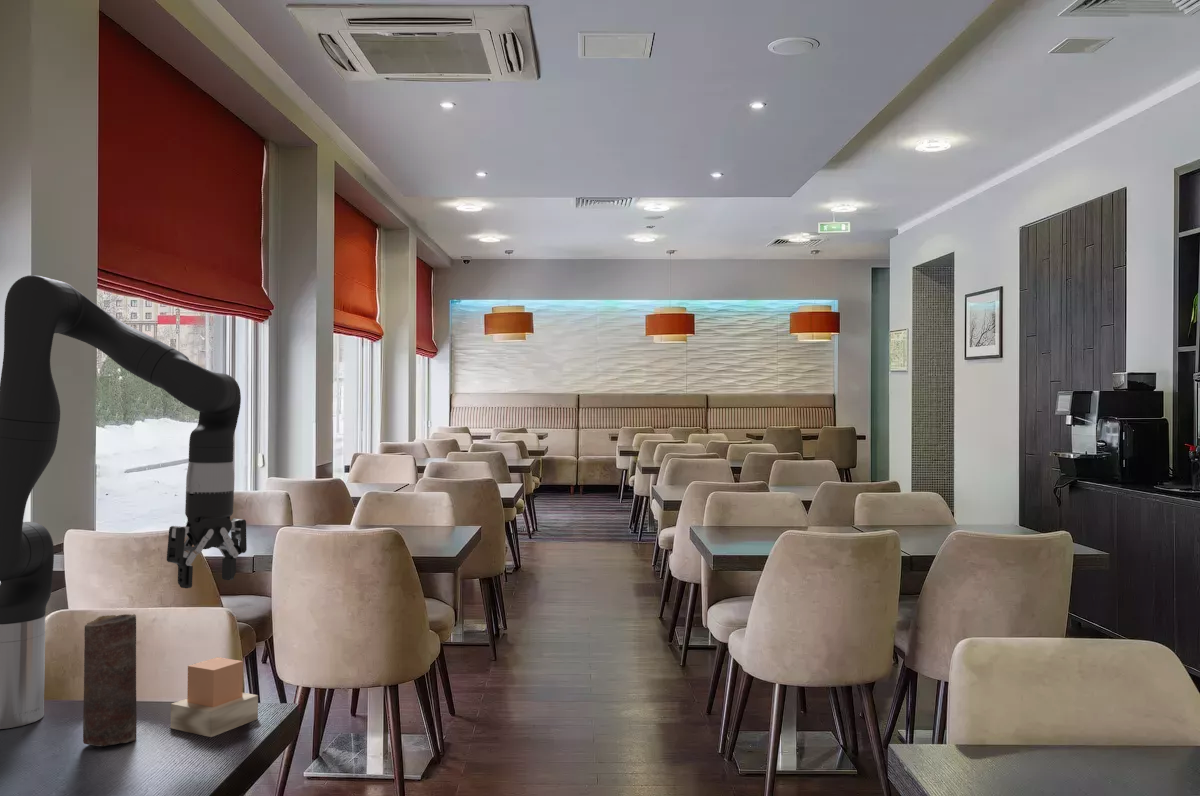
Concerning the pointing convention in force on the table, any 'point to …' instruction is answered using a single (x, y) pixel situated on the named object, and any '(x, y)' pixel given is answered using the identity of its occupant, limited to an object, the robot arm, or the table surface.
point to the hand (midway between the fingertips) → (207, 583)
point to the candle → (110, 681)
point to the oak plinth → (214, 715)
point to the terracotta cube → (215, 681)
